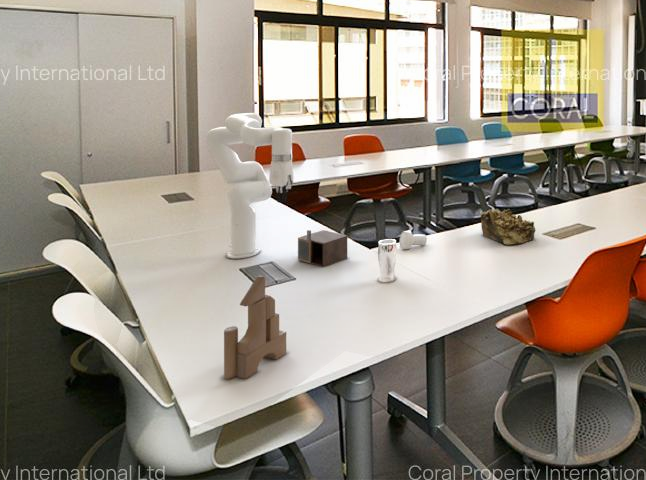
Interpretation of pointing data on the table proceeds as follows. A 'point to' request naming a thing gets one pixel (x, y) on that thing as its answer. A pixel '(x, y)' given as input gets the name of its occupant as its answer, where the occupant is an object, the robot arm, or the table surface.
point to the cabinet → (327, 247)
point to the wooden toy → (254, 335)
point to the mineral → (506, 227)
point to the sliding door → (305, 248)
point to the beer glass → (387, 259)
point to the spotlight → (411, 239)
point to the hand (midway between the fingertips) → (282, 201)
